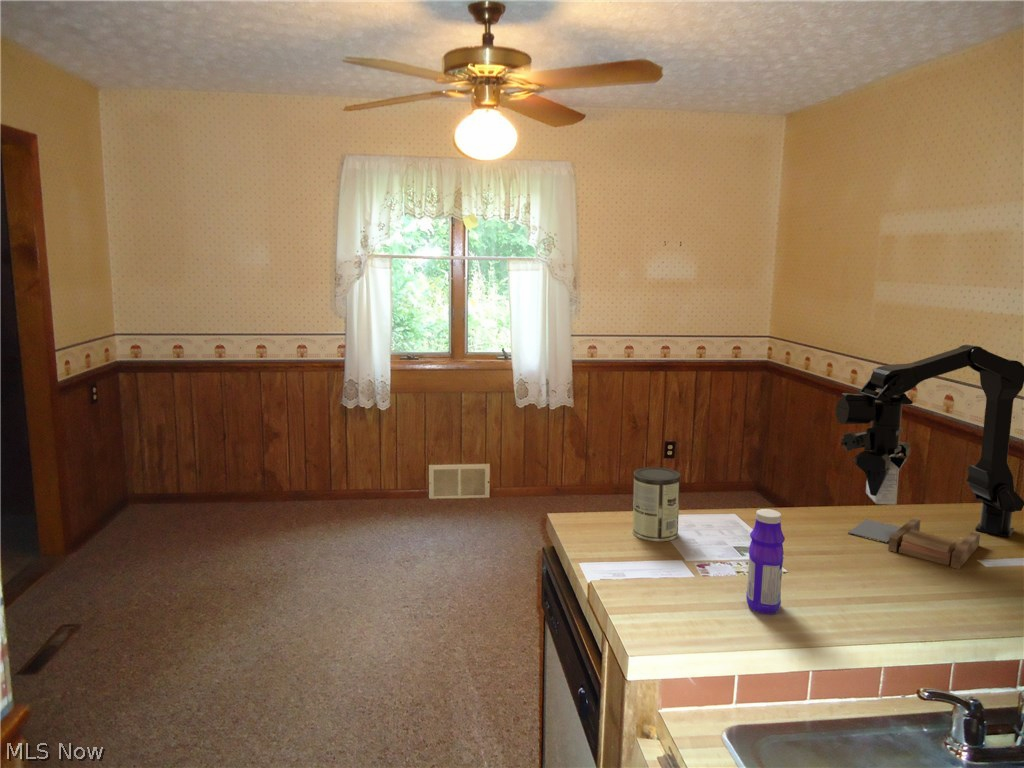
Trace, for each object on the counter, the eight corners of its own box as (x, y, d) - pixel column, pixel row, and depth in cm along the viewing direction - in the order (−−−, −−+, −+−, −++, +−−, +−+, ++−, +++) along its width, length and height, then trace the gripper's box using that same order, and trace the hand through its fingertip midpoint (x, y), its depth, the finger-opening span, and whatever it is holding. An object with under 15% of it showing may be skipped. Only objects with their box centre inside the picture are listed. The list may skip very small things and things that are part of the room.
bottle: (782, 618, 116) (788, 521, 113) (747, 614, 118) (752, 517, 115) (777, 599, 123) (784, 507, 120) (744, 595, 124) (750, 504, 122)
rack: (912, 530, 157) (913, 517, 156) (978, 545, 148) (980, 532, 147) (888, 550, 145) (889, 537, 144) (959, 569, 136) (960, 554, 135)
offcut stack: (907, 544, 148) (908, 528, 148) (956, 557, 142) (958, 540, 141) (898, 553, 144) (899, 536, 143) (948, 566, 137) (950, 549, 137)
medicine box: (896, 505, 150) (900, 467, 149) (874, 504, 151) (877, 466, 150) (885, 494, 158) (889, 458, 156) (865, 493, 159) (867, 457, 157)
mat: (866, 520, 163) (866, 519, 163) (903, 529, 157) (903, 527, 157) (848, 533, 154) (848, 532, 154) (886, 543, 149) (886, 541, 149)
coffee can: (641, 522, 162) (643, 464, 159) (684, 530, 156) (686, 471, 154) (624, 535, 153) (626, 475, 151) (668, 545, 147) (671, 482, 145)
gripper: (862, 412, 164) (857, 475, 166) (832, 424, 151) (827, 492, 153) (913, 419, 156) (908, 484, 159) (887, 432, 143) (881, 503, 146)
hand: (880, 490), depth 154 cm, fingers closed on medicine box, 9 cm apart
